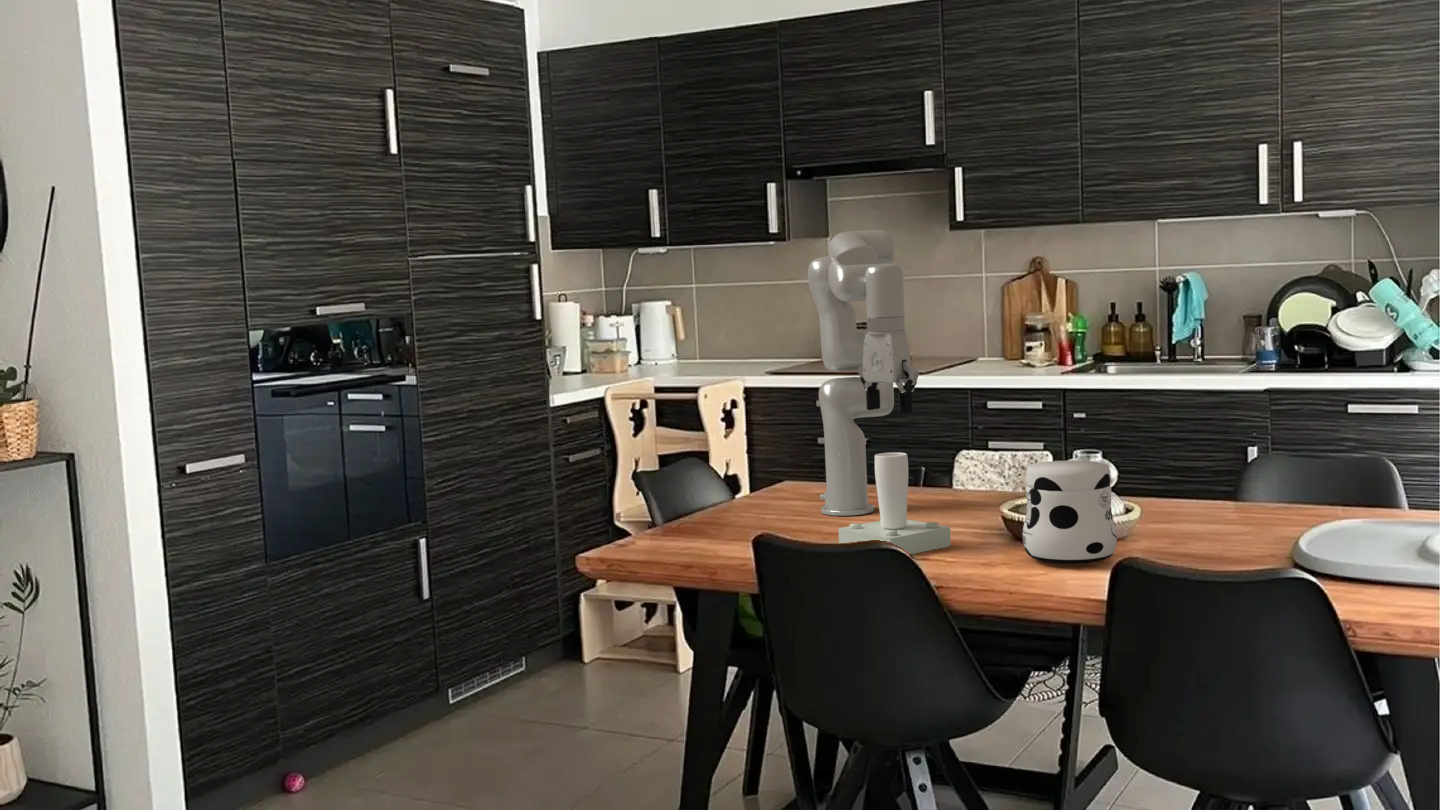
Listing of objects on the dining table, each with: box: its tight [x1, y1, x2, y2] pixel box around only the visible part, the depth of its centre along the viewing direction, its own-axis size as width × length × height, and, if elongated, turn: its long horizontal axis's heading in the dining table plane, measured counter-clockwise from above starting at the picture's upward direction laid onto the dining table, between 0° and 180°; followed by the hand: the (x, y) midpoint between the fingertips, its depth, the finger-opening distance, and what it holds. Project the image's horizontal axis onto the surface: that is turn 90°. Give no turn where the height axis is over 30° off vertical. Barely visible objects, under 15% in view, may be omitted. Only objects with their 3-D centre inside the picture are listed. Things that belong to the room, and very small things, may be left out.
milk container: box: [1022, 460, 1118, 565], centre depth 262 cm, size 17×17×18 cm
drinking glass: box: [874, 451, 909, 529], centre depth 282 cm, size 7×7×15 cm
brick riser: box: [838, 519, 952, 555], centre depth 282 cm, size 16×16×5 cm
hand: (889, 410), depth 280 cm, fingers open, 9 cm apart
